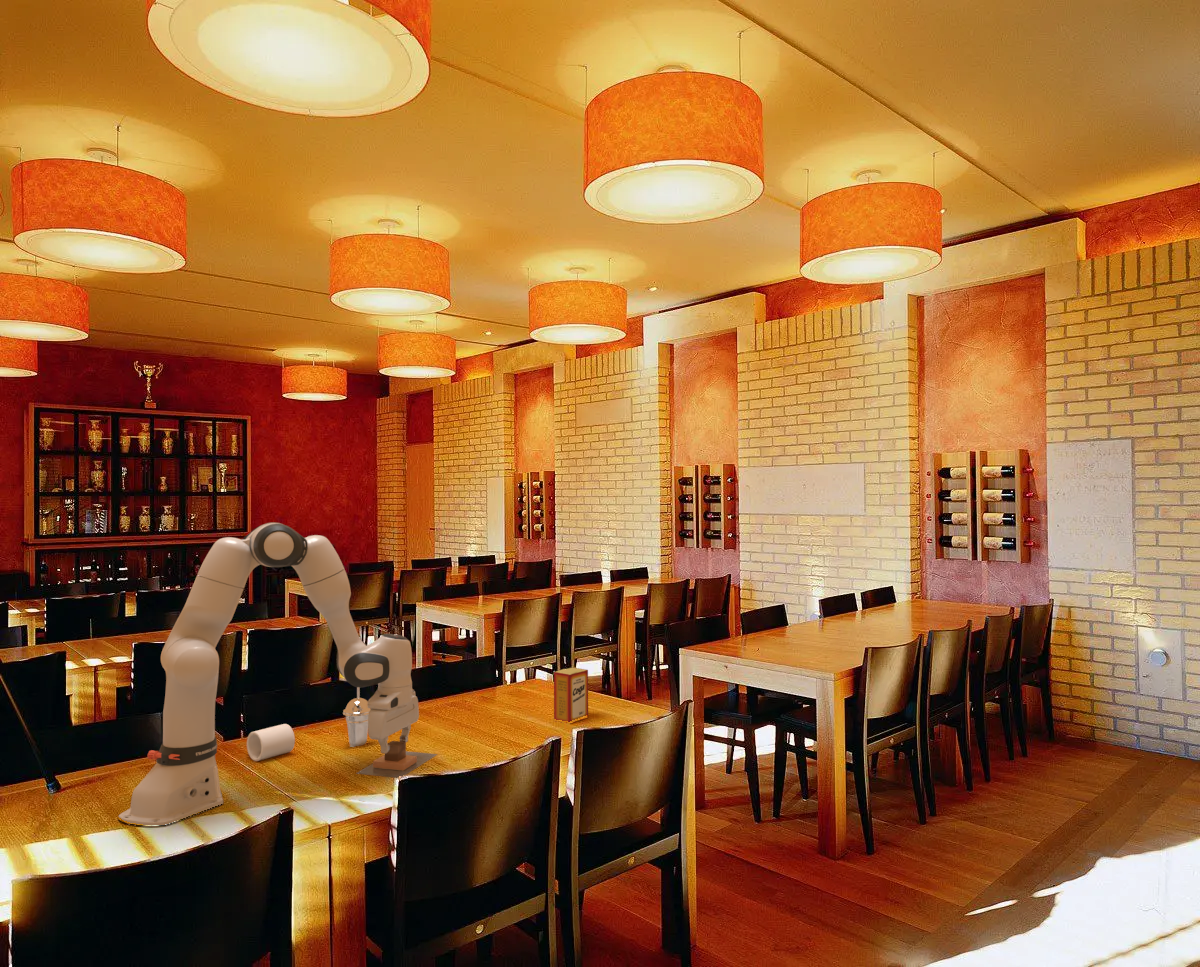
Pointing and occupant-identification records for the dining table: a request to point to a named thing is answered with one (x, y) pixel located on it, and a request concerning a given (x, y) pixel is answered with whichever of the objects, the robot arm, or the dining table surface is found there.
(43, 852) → the dining table surface
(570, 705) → the baking soda box
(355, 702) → the cup with straw
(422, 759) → the slate board
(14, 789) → the dining table surface
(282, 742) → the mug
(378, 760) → the tile
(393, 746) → the walnut cube
